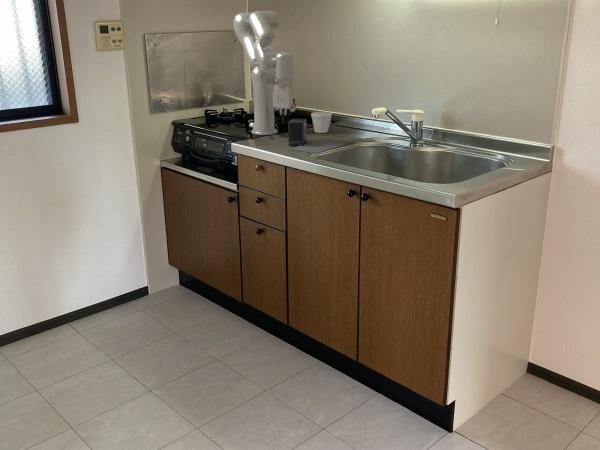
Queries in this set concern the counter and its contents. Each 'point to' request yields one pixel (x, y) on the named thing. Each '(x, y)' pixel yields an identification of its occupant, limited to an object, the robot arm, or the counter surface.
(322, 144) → the mat
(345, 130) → the counter surface
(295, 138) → the small box
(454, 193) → the counter surface
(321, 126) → the cup
